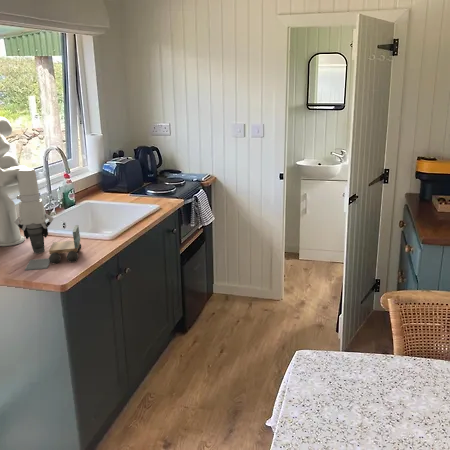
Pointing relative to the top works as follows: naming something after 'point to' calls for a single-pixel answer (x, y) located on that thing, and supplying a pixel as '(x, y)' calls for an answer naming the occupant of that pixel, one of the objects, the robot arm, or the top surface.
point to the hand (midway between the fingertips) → (36, 237)
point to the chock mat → (38, 264)
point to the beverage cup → (36, 237)
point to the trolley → (66, 248)
